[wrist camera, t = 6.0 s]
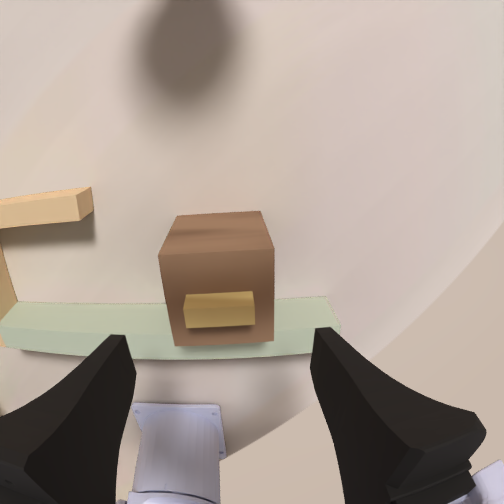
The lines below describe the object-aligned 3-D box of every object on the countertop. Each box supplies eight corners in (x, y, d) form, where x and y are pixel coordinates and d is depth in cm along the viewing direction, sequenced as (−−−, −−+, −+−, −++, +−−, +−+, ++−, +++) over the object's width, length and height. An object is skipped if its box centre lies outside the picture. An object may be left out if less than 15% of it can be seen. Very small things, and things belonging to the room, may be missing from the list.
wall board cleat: (322, 319, 23) (336, 350, 19) (13, 321, 21) (-6, 345, 18) (335, 176, 19) (357, 188, 15) (-21, 203, 17) (-49, 218, 14)
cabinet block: (261, 284, 21) (277, 356, 15) (186, 288, 21) (171, 361, 14) (260, 210, 19) (278, 260, 13) (177, 215, 19) (152, 267, 12)
